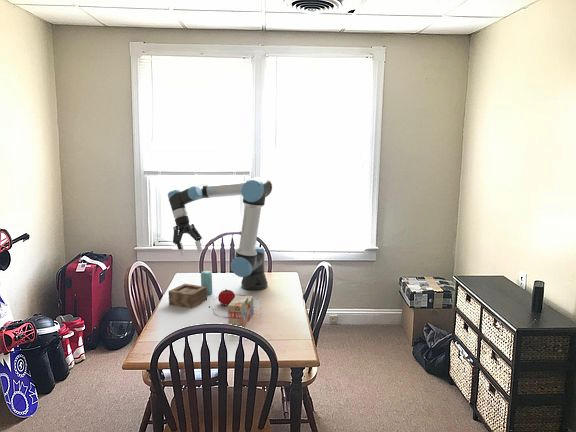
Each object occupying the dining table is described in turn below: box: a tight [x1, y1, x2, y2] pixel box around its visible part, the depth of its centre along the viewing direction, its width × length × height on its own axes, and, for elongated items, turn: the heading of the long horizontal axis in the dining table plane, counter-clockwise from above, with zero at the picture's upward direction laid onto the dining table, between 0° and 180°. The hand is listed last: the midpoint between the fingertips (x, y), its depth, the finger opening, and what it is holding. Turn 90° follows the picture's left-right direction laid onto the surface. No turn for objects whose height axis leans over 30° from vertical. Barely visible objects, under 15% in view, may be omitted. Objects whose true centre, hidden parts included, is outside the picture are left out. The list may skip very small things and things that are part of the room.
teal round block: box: [200, 270, 213, 296], centre depth 278 cm, size 6×6×12 cm
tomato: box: [217, 288, 236, 306], centre depth 261 cm, size 9×9×8 cm
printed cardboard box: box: [227, 295, 254, 328], centre depth 237 cm, size 21×6×12 cm, turn 169°
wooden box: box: [168, 283, 208, 309], centre depth 264 cm, size 14×14×7 cm
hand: (191, 253), depth 278 cm, fingers open, 13 cm apart
